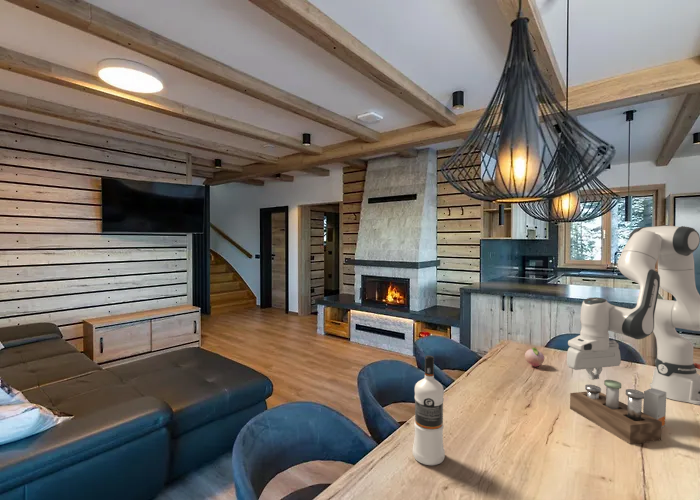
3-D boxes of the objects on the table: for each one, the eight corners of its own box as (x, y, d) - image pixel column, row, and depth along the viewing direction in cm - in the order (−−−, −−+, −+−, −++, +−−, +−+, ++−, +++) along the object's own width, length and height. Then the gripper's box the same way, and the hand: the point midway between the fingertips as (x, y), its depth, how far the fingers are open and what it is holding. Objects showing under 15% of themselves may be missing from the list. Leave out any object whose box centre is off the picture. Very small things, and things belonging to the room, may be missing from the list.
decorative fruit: (522, 363, 186) (522, 344, 186) (539, 364, 185) (539, 344, 185) (528, 369, 177) (528, 349, 177) (546, 370, 176) (546, 350, 176)
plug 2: (633, 415, 121) (634, 388, 121) (647, 422, 116) (648, 394, 116) (621, 416, 120) (621, 389, 120) (634, 424, 115) (635, 395, 115)
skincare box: (657, 430, 121) (658, 395, 121) (642, 424, 125) (643, 390, 125) (665, 426, 124) (667, 392, 124) (651, 420, 128) (652, 387, 127)
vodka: (446, 452, 109) (447, 353, 108) (442, 470, 100) (443, 363, 99) (415, 445, 112) (416, 349, 111) (409, 462, 104) (410, 359, 103)
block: (597, 405, 139) (597, 390, 139) (661, 440, 115) (661, 421, 115) (569, 408, 137) (570, 393, 137) (629, 444, 113) (630, 425, 113)
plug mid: (611, 404, 129) (612, 379, 128) (624, 411, 124) (625, 384, 124) (600, 405, 128) (600, 380, 128) (612, 412, 123) (613, 385, 123)
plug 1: (592, 408, 137) (593, 384, 136) (603, 414, 132) (604, 389, 132) (581, 409, 136) (582, 385, 136) (592, 415, 131) (592, 390, 131)
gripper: (610, 337, 138) (610, 373, 139) (563, 341, 135) (563, 377, 135) (626, 342, 132) (625, 379, 133) (577, 346, 128) (577, 384, 129)
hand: (593, 378), depth 134 cm, fingers closed
